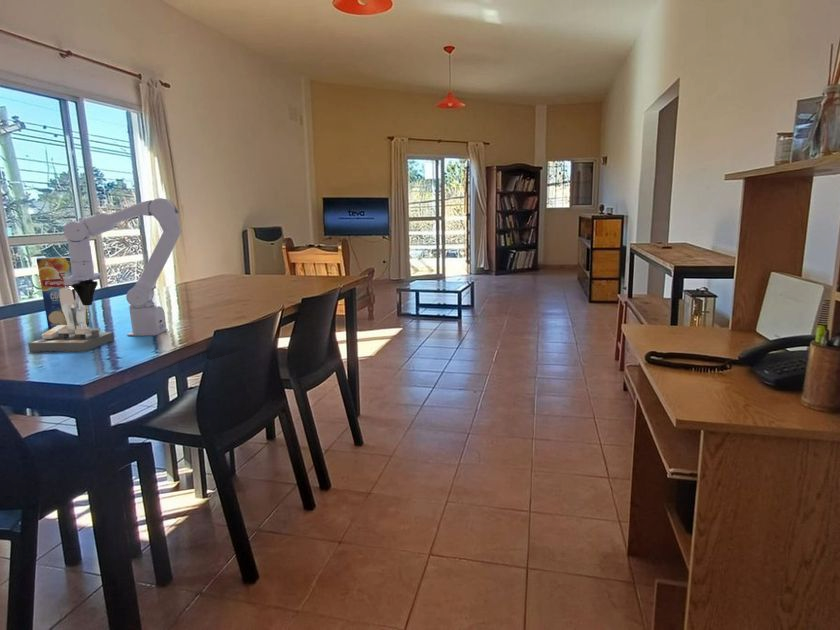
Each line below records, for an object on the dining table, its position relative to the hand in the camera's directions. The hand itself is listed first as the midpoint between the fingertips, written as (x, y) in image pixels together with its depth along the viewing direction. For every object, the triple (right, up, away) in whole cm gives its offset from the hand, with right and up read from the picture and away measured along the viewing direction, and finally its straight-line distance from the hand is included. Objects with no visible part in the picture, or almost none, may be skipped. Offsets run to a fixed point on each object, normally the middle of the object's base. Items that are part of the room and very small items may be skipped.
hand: (87, 305), depth 160 cm
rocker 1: (-4, -8, -8) cm, 12 cm away
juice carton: (-19, -7, +20) cm, 29 cm away
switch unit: (+1, -12, -8) cm, 14 cm away
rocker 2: (+6, -8, -9) cm, 13 cm away
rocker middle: (+1, -8, -9) cm, 12 cm away
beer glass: (-9, -9, +9) cm, 16 cm away
